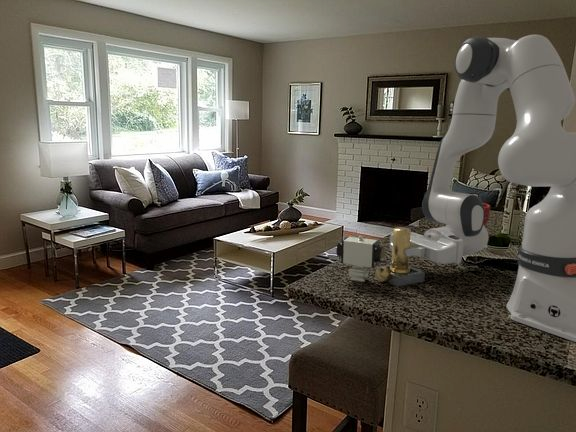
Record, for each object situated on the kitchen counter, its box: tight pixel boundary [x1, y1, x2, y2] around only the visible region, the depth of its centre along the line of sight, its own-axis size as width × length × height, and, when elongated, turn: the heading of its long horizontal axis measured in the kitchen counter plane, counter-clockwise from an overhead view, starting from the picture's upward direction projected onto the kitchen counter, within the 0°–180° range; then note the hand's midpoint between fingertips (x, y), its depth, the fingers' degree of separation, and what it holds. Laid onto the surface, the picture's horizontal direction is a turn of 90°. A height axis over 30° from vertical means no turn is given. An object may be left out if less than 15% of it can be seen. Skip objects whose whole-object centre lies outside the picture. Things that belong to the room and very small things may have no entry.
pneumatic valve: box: [335, 235, 386, 283], centre depth 117 cm, size 6×12×12 cm, turn 63°
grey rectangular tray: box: [375, 264, 426, 287], centre depth 118 cm, size 9×11×4 cm
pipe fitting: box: [390, 226, 412, 276], centre depth 117 cm, size 5×5×12 cm
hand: (398, 249), depth 117 cm, fingers closed on pipe fitting, 4 cm apart
